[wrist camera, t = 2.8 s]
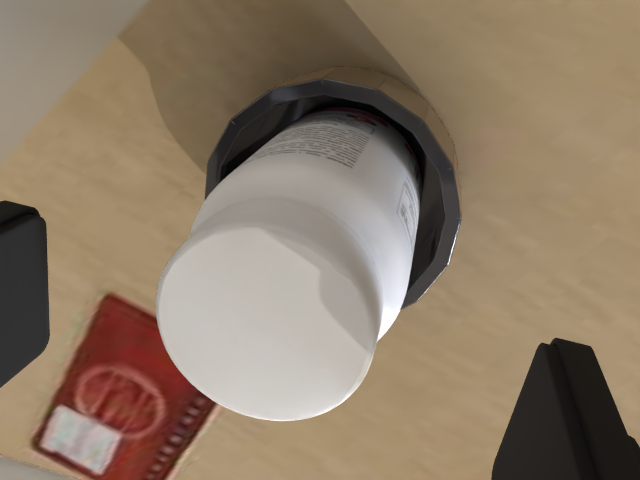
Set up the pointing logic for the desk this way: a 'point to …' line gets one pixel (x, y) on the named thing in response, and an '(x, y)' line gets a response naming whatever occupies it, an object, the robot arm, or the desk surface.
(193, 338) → the pill bottle
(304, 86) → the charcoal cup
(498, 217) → the desk surface
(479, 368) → the desk surface
